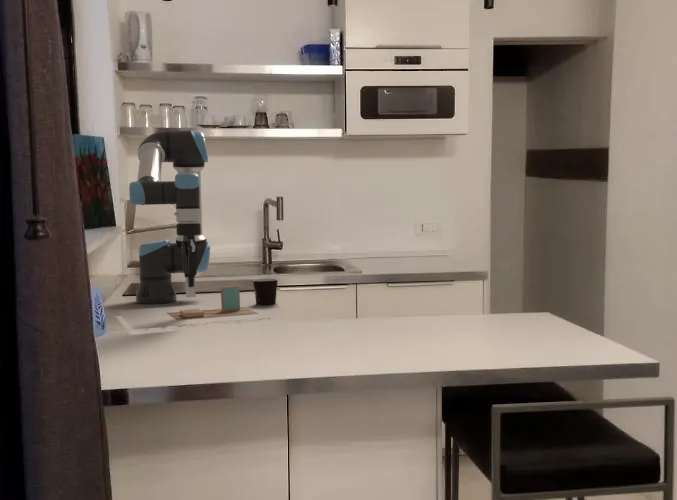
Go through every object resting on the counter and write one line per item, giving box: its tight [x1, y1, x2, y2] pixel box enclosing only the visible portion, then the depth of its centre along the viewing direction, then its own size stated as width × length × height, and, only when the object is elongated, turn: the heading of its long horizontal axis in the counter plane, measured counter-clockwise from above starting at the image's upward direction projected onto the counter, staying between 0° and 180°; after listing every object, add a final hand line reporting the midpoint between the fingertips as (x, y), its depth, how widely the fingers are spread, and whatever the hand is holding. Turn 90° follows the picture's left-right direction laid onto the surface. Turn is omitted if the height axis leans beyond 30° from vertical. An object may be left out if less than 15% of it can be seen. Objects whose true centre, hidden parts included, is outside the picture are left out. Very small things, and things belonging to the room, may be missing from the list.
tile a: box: [179, 308, 204, 318], centre depth 225 cm, size 2×6×8 cm
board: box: [166, 306, 259, 325], centre depth 230 cm, size 17×26×2 cm, turn 114°
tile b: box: [220, 285, 241, 311], centre depth 235 cm, size 2×6×8 cm, turn 114°
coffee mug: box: [252, 278, 278, 306], centre depth 251 cm, size 12×9×10 cm
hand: (190, 296), depth 226 cm, fingers closed
